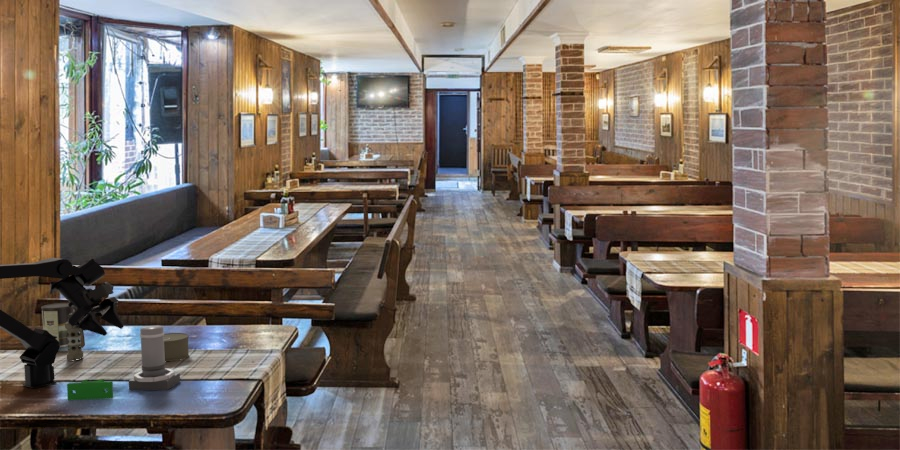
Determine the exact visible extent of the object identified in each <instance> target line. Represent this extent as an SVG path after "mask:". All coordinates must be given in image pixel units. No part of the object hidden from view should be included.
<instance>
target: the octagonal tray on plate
mask: <svg viewBox="0 0 900 450" xmlns="http://www.w3.org/2000/svg"><path fill="white" fill-rule="evenodd" d="M180 374H181V373H180V372H176V371H175V370H173V369H171V368H166V367H165V375H163V376H158V377H143V375H142V370H141V371H139V372H137V373H135V374H134V375H133V378H131V379H129V380H128V391H129V390H131V391H132V390H135V391H137V390H138V391H143V390H145V391H147V390H149V391H151V390H152V391H156V390H158V391H160V390H161V391H168V390H170V389H171V388H172V387H174V386H176V385H177V384H178V383H180V382H181V375H180Z"/></svg>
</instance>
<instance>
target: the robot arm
mask: <svg viewBox="0 0 900 450" xmlns="http://www.w3.org/2000/svg"><path fill="white" fill-rule="evenodd" d="M105 275H106V273H105V270H104V268H103V266H101V265H100V264H99V263H98V262H97V261H95V259H94V258H90V257H89V258H87V259H86V260H85V261H84V262H82V263H81V264H79V265H77V266H76V265H74V264H73V263H72V262H71V261H70V260H69V259H66V258H58V257H50V258H45V259H41V260H39V261H36V262H28V263H27V262H26V263H24V262H23V263H8V264H0V280H5V279H17V278H33V277H34V278H35V277H45V278H53V279H59V280H58V281H50V283H49V294H50V295H53V294H54V293H56V292H59V294H60V295H62V296H63V297H64V298H65V299H66V300H67V301H68V303H69V304H68V305H69V306H70V307H72V306H74V312H73V313H72V314H71V316H70V317H69V318H68V323H69V324H70V325H71V326H72V327H75V326H76V327H77V328H81V329H85V331H89V332H92V333H95V334H97V335H101V336H104V337H105V336H107V335H108V331H106V329H105V328H104V327H103V325H102V324H101V323H100V322H99V320H98V319H97V318H96V315H97V316H98V317H100V319H102V320H103V321H104V322H107V323H109V324H111V325H113V326H114V327H116V328H118V329H120V330H121V329H123V328H124V323H123V322H122V319H121V318H120V316H119V314H118V311H117V309H118V308H117V307H118V306H119V304H118V303H119V301H120V300H119V299H117V298H116V297H115V296H109V295H113V294H114V285H112V283H110V282H108V281H105V282H103V283H100V284H99V286H98V287H95V288H94V289H92V288H90V286H92V284H94V283H96V282H98V281H99V280H100V279H101V278H103V277H104V276H105ZM85 286H86V287H89V288H86V287H85ZM107 296H108V297H107ZM0 329H1V330H2V331H4V332H6V333H7V334H9V335H10V336H12V337H13V338H15V339H17V340H18V341H20V343H21V345H22V346H23V347H24V349H25V350H24V351H23V352H22V354H21V355H20V356H19V358H20V361H21V363H22V364H24V365H23V366H24V367H23V369H24V382H23V383H22V384H21V385H22V386H24V387H27V388H30V389H37V388H42V387H45V386H49V385H55V384H56V383H57V380H55V367H54V366H55V365H53V364H54V363H55V361H56V357H57V354H58V353H59V351H60V348H61V347H60V343H59V341H58V340H57V339H56V338H57V337H56V336H53V335H51V334H50V333H49V332H48V331H47V330H43V328H38V327H34V328H33V329H34V330H33V329H31V328H30V327H29V326H27V325H25V324H24V323H22V322H21V321H19V320H17V319H16V318H14V317H13V316H11V315H10V314H8V313H6V312H5V311H3V310H2V309H0Z"/></svg>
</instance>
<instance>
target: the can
mask: <svg viewBox="0 0 900 450" xmlns="http://www.w3.org/2000/svg"><path fill="white" fill-rule="evenodd" d="M164 353H165V361H173V362H177V361H176V360H179V361H181V360H180V359H183V360H185V359H187V358H188V357H189V356H190V355H189V353H190V352H189V334H187V333H184V332H169V333H164ZM186 357H187V358H186ZM184 358H185V359H184Z"/></svg>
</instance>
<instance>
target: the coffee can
mask: <svg viewBox="0 0 900 450" xmlns="http://www.w3.org/2000/svg"><path fill="white" fill-rule="evenodd" d="M69 303H70V302H57V303H49V304H45V305H42V306H41V307H40V309H41V319H42V329H43V330H47V331H48V332H49V333H50V334H51V335H53V336H56V337H57V338H56V339H57V340H58V341H59V343H60V348H66V347H67V348H68V340H67V329H66V328H65V323H66V322H68V318H69V317H68V315H69V314H71V313H73V312H74V311H75V307H74V306H72V307H70V306H69V305H68V304H69ZM68 335H69V334H68Z"/></svg>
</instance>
